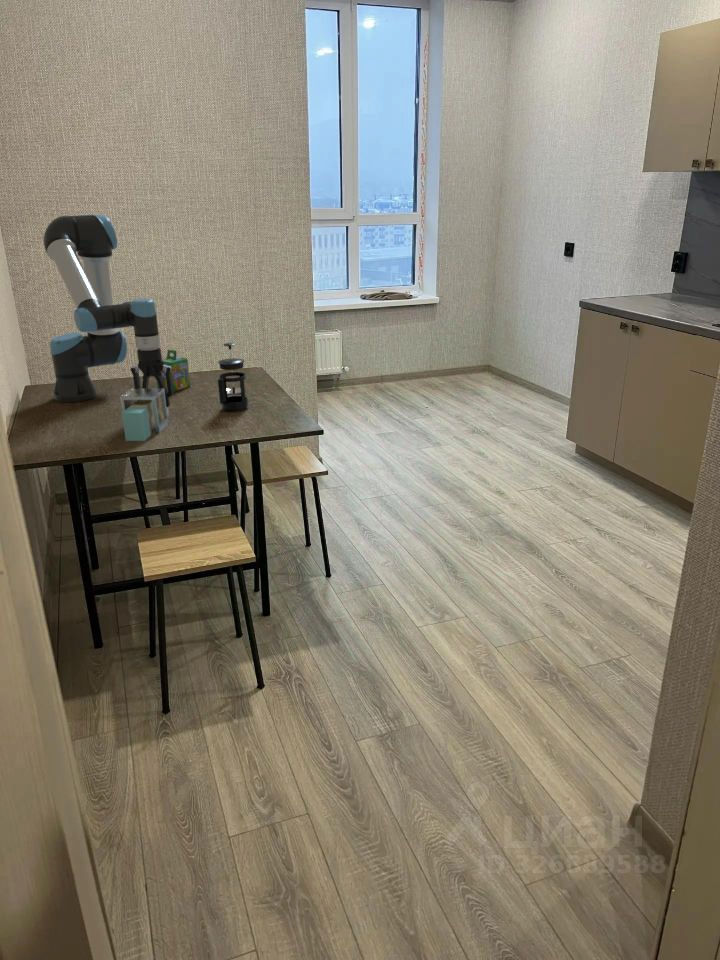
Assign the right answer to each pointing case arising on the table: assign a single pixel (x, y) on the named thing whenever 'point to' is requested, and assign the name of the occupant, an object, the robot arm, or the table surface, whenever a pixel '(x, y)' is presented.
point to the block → (136, 424)
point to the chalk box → (176, 371)
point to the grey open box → (147, 394)
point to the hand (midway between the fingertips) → (157, 416)
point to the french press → (233, 401)
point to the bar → (151, 410)
